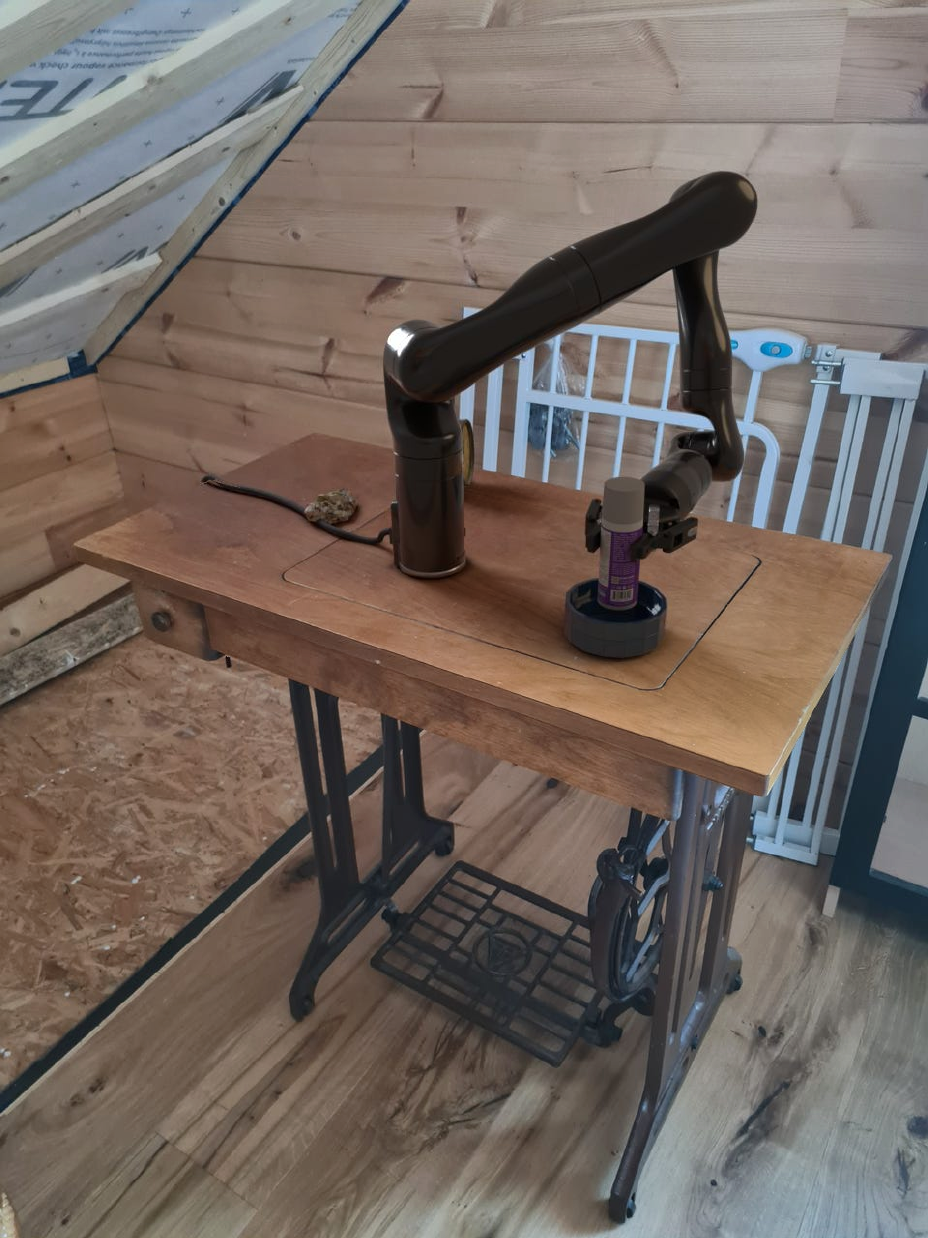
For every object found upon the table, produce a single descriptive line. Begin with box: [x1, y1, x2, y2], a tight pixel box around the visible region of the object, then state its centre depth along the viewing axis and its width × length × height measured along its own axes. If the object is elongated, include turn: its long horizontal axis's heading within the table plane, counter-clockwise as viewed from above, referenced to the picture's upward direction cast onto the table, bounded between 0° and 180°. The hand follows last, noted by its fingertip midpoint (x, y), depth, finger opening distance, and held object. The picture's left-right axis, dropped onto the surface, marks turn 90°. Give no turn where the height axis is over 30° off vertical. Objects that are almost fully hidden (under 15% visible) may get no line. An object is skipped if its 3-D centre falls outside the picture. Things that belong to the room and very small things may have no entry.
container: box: [598, 476, 645, 610], centre depth 106 cm, size 5×5×15 cm
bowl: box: [563, 577, 668, 659], centre depth 111 cm, size 12×12×5 cm
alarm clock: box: [453, 396, 475, 487], centre depth 151 cm, size 11×5×16 cm, turn 168°
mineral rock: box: [304, 488, 357, 525], centre depth 146 cm, size 11×4×8 cm
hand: (612, 549), depth 104 cm, fingers closed on container, 4 cm apart
